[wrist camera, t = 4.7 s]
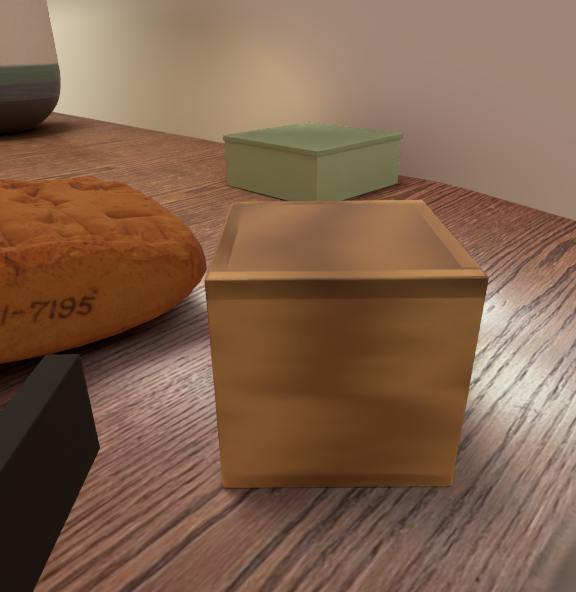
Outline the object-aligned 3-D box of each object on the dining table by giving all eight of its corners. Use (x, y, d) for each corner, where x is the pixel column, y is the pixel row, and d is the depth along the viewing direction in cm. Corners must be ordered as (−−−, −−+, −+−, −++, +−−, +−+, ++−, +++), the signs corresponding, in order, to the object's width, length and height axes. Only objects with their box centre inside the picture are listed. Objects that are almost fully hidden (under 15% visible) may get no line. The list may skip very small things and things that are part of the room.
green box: (398, 183, 64) (402, 133, 61) (316, 209, 54) (317, 151, 52) (309, 166, 74) (309, 122, 71) (226, 185, 64) (223, 135, 61)
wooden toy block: (405, 360, 28) (422, 199, 24) (452, 487, 20) (489, 276, 16) (241, 361, 28) (231, 201, 24) (222, 488, 20) (203, 279, 16)
